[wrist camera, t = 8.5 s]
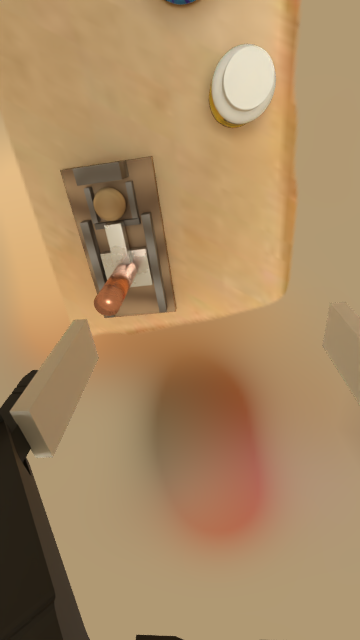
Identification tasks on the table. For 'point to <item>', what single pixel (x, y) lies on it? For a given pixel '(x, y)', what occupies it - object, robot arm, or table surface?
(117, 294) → the lever handle
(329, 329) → the robot arm
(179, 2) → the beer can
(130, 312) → the base
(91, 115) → the table surface
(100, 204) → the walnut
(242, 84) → the pill bottle
